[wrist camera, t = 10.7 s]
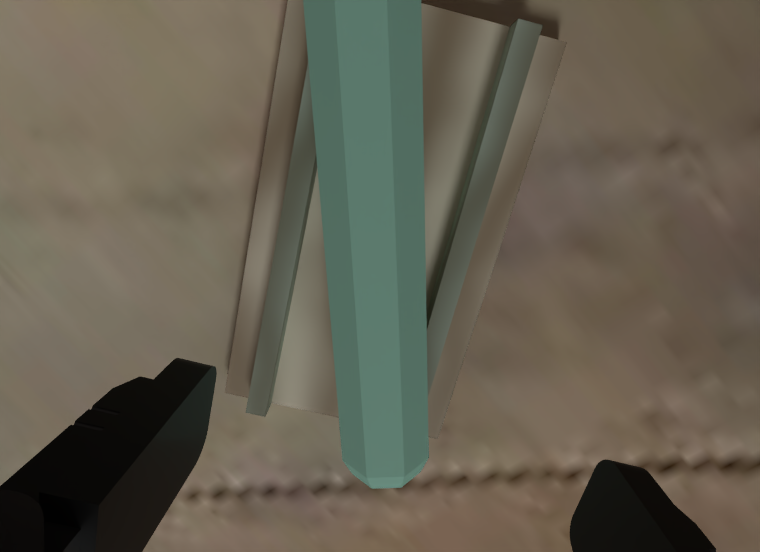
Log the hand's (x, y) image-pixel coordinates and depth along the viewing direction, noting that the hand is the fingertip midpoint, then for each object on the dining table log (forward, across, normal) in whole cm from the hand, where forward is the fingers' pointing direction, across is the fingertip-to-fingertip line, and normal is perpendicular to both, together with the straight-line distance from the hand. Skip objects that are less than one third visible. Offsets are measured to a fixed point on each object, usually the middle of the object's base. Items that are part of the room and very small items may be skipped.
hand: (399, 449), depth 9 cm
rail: (+18, +1, -1) cm, 18 cm away
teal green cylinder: (+16, +1, 0) cm, 16 cm away
